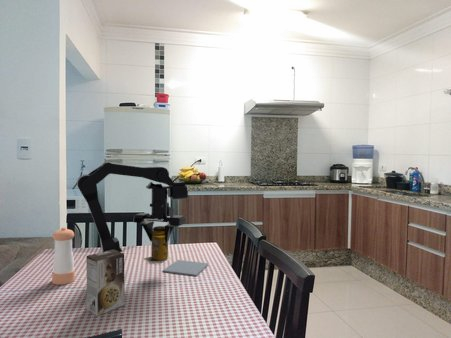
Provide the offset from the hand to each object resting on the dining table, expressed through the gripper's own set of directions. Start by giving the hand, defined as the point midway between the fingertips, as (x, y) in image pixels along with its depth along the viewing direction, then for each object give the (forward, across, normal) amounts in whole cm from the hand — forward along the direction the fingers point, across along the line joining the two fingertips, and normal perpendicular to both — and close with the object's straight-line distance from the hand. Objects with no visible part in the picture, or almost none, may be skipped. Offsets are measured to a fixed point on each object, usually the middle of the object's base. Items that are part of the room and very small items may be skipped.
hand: (159, 242), depth 126 cm
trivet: (+13, -6, -12) cm, 19 cm away
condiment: (+7, +1, 0) cm, 7 cm away
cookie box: (+13, +3, +28) cm, 31 cm away
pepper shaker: (+13, +30, +15) cm, 36 cm away
